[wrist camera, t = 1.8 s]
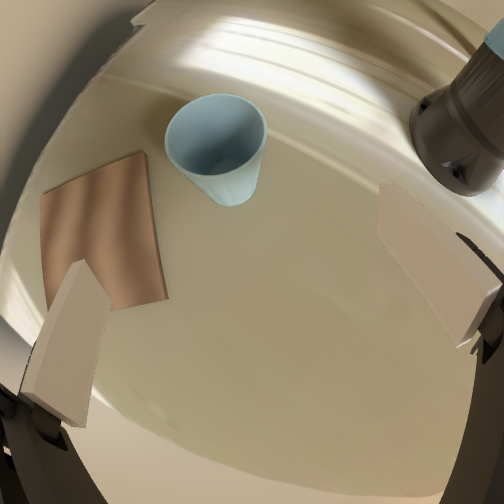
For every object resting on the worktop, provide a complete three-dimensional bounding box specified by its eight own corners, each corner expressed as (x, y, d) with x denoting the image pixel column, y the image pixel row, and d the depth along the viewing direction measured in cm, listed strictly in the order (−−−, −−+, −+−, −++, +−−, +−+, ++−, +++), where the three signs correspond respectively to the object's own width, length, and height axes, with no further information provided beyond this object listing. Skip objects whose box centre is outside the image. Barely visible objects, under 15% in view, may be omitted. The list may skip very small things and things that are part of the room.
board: (146, 155, 30) (143, 151, 29) (168, 298, 28) (165, 299, 27) (44, 198, 30) (40, 196, 29) (54, 321, 28) (49, 322, 27)
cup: (261, 221, 28) (259, 183, 18) (189, 213, 29) (152, 174, 19) (271, 155, 29) (272, 96, 19) (203, 149, 30) (178, 93, 20)
